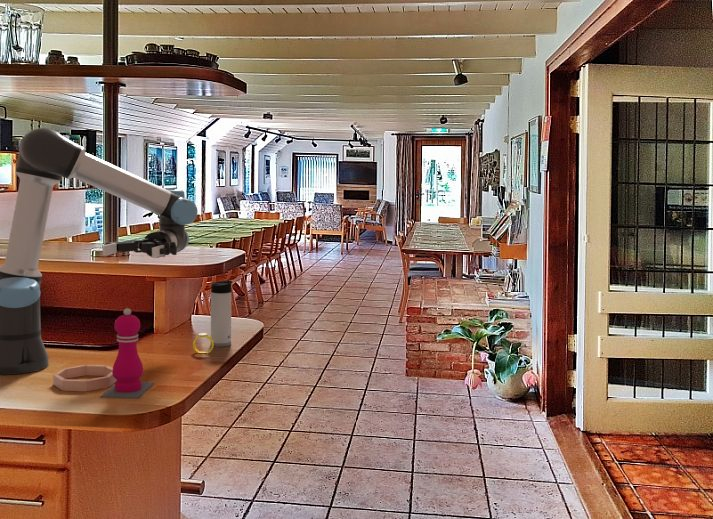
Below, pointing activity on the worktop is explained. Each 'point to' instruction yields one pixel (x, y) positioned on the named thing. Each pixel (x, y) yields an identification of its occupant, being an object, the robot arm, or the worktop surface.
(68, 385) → the octagonal frame ring
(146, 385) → the mat
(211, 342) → the watch
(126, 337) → the pepper mill
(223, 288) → the travel mug
